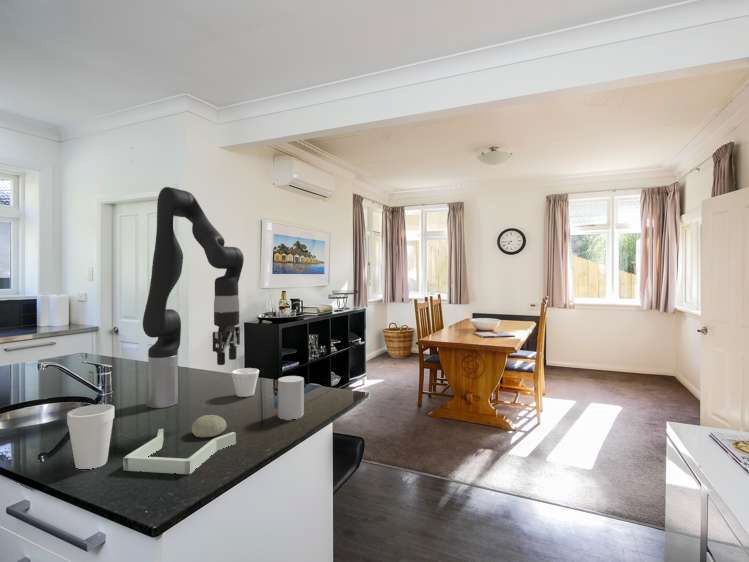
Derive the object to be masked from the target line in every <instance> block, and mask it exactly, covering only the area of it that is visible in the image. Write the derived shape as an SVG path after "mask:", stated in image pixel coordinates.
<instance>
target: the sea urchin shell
mask: <svg viewBox="0 0 749 562" xmlns="http://www.w3.org/2000/svg"><path fill="white" fill-rule="evenodd" d="M226 429H227V421H226V420H225V419H224V418H223V417H222V416H219V415H215V414H207V415H206V414H205V415H202V416H200V417H198V418H196V419H195V421H194V422H193V423H192V426H191V433H192V434H193V435H194V436H195V437H196V438H213V437H217V436H220V435H221V434H222V433H223V432H225V430H226Z"/></svg>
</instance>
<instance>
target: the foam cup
mask: <svg viewBox="0 0 749 562" xmlns="http://www.w3.org/2000/svg"><path fill="white" fill-rule="evenodd" d="M114 419H115V406H114V405H113V404H108V403H107V404H106V403H103V404H102V403H101V404H90V405H85V406H80V407H77V408H73V409H72V410H70V411H68V412H67V414H66V426H68V430H69V431H68V432H69V437H70V443H71V448H72V453H73V455H72V456H73V461H74V465H75V469H76V468H78V469H90V470H93V469H92V468H94V469H98V468H100V467H103V466H104V465H106V464H107V463H108V459H109V451H110V442H111V437H112V430H113V423H114ZM106 462H107V463H106ZM97 467H98V468H97ZM78 469H77V470H78Z"/></svg>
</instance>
